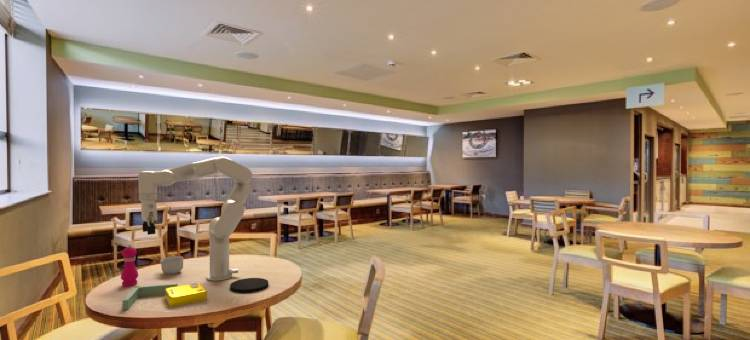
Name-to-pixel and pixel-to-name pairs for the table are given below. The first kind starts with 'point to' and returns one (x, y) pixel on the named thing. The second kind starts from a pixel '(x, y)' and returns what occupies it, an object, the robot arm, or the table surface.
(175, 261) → the teacup
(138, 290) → the corner stop
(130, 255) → the pepper mill
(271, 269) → the table surface
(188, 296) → the element tile
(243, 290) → the wireless charger
